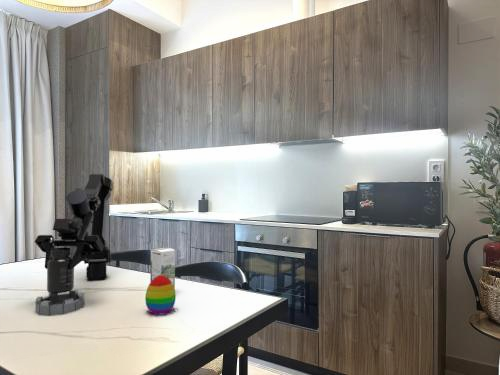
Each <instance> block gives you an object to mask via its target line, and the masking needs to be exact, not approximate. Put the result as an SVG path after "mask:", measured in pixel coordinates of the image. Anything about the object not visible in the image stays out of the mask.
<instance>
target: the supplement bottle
mask: <svg viewBox="0 0 500 375" xmlns="http://www.w3.org/2000/svg"><path fill="white" fill-rule="evenodd" d="M71 253H72V252H71V247H65V246H61V247H58V248H54V249H52V250H51V256H52V258H51V259H49V260H48V262H47V269H46V273H47V274H46V275H47V276H46V290H47V292H48V294H49V293H58V294H63V293H67V292H68V293H69V291H71V290H74V287H75V267H74V268H73V269H70V268H69V266H70V263H71V261H72V258H73V256H70V255H71Z"/></svg>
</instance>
